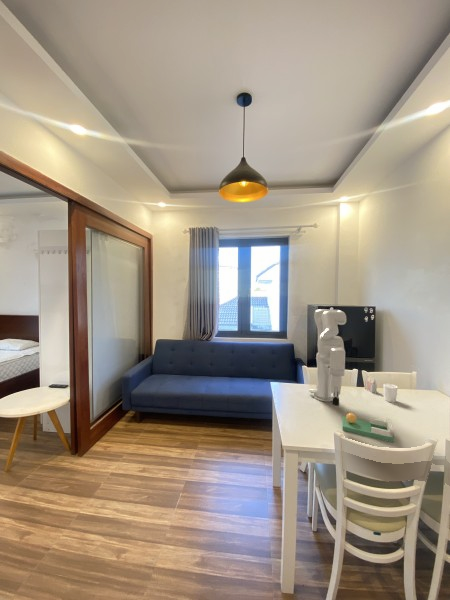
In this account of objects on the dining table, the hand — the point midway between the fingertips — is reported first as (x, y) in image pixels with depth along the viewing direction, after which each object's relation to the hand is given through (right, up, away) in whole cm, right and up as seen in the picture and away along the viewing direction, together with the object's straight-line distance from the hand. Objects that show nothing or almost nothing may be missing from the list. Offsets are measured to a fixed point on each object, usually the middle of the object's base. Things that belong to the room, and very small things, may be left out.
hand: (335, 404), depth 134 cm
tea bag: (+46, -10, +46) cm, 66 cm away
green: (+13, -11, -5) cm, 18 cm away
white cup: (+50, -11, +31) cm, 60 cm away
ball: (+7, -6, -3) cm, 10 cm away
